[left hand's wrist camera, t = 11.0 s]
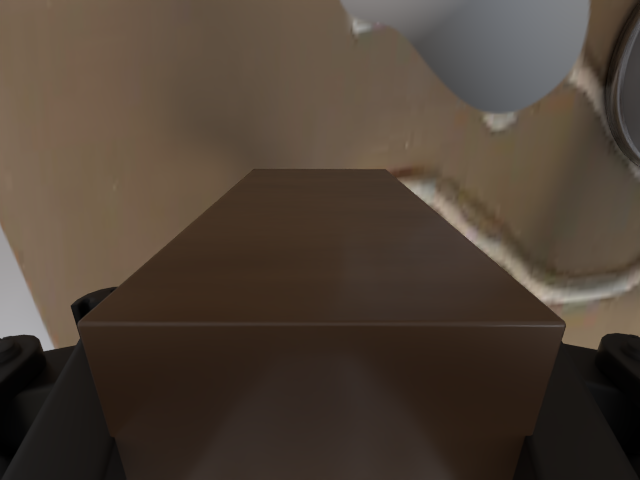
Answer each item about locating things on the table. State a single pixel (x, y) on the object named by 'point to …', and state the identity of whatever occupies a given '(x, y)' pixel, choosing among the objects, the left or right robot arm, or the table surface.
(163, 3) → the table surface
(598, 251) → the table surface
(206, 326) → the box
